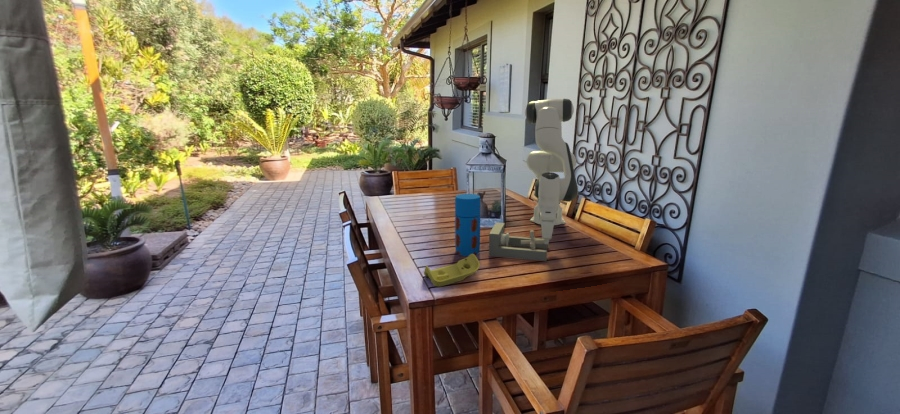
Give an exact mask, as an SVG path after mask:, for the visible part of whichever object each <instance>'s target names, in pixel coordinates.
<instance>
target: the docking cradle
mask: <svg viewBox="0 0 900 414" xmlns="http://www.w3.org/2000/svg"><path fill="white" fill-rule="evenodd" d="M505 224H506V223H505V222H494V225H493V226H492V228H491V230H490V232H489V235H488V237H489V238H488V256H489V257H499V258H506V259H507V258H509V259H519V260H529V261H530V260H531V261H538V262H539V261H540V262H547V259H548V249H549V244H535V249H531V247H530V244H521V240H530V237H527V236H526V237H525V236H516V235H515V236H514V235H509V245H508V247H506V246H504V245H501V234H505ZM535 240H543V238H539V237H535Z"/></svg>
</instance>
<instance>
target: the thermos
mask: <svg viewBox="0 0 900 414" xmlns="http://www.w3.org/2000/svg"><path fill="white" fill-rule="evenodd" d="M481 201H482V200H481V196H480V195H479V194H475V193H474V194H473V193H460V194H457V195H455V199H454V239H455V240H454V245H455V246H454V247H455V253H456V254H457V255H460V256H462V257H468V256H469V255H470V254H474V255H475V256H477V255H478V254H479V253H480V249H481V248H480V247H481Z"/></svg>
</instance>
